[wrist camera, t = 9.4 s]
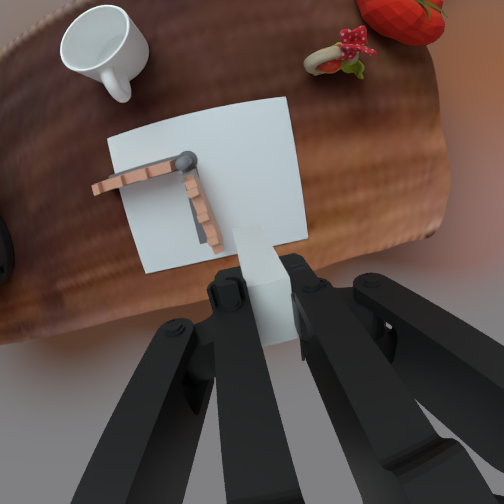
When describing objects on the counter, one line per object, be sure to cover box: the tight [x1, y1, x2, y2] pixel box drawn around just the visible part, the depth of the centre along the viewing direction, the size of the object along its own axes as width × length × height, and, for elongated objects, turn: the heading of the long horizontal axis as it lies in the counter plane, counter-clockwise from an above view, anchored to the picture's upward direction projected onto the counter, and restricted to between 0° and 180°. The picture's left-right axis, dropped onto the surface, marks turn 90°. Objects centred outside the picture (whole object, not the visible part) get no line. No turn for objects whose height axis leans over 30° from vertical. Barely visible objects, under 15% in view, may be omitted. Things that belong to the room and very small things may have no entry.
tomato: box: [354, 0, 447, 46], centre depth 23 cm, size 13×14×12 cm
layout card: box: [107, 97, 308, 274], centre depth 36 cm, size 25×20×1 cm
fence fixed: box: [92, 155, 193, 196], centre depth 32 cm, size 12×1×7 cm, turn 101°
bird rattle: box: [304, 25, 377, 79], centre depth 28 cm, size 6×11×9 cm
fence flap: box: [179, 169, 224, 255], centre depth 34 cm, size 10×2×6 cm, turn 19°
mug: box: [60, 5, 149, 103], centre depth 24 cm, size 12×8×10 cm
